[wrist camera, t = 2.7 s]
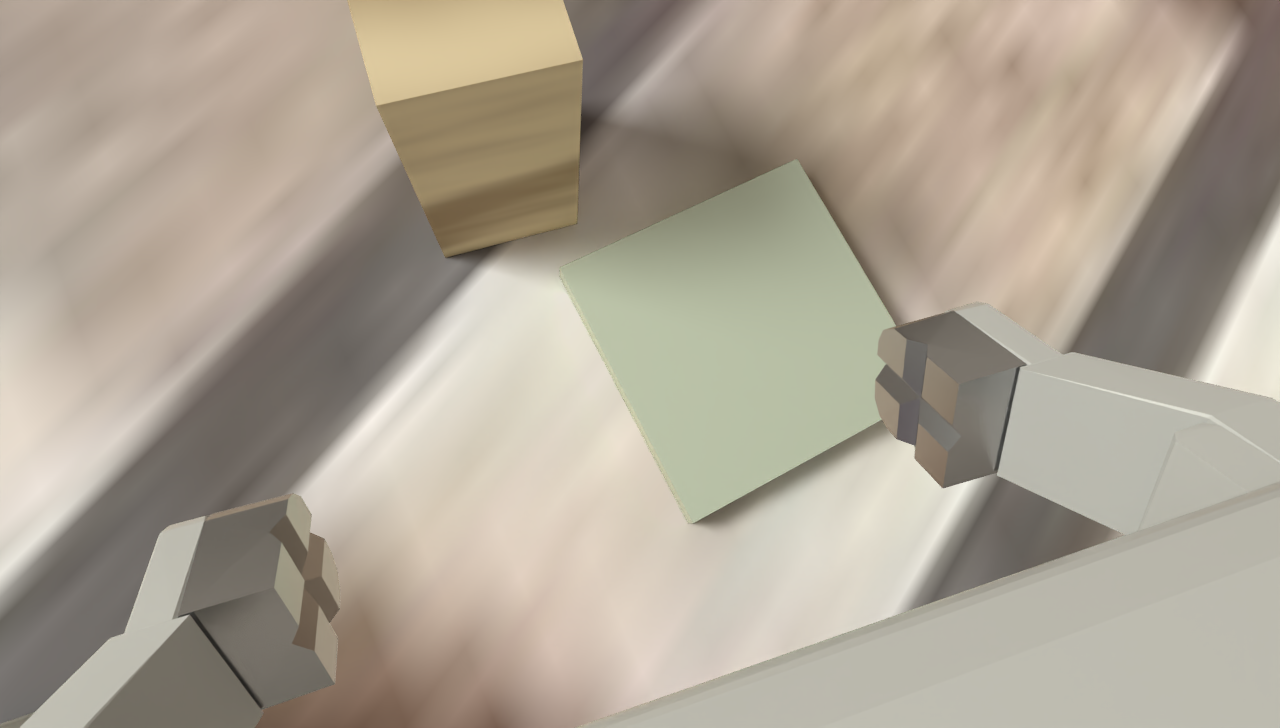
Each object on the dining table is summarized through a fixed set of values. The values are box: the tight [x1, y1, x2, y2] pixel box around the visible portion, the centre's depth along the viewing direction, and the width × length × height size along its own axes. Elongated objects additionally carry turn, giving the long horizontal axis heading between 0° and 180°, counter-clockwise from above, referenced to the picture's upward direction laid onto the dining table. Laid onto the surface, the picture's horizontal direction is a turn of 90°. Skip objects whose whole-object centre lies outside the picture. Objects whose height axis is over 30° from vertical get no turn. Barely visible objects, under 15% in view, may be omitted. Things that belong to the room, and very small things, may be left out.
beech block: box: [347, 0, 583, 258], centre depth 23 cm, size 5×5×10 cm
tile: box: [559, 159, 896, 523], centre depth 27 cm, size 10×10×1 cm
